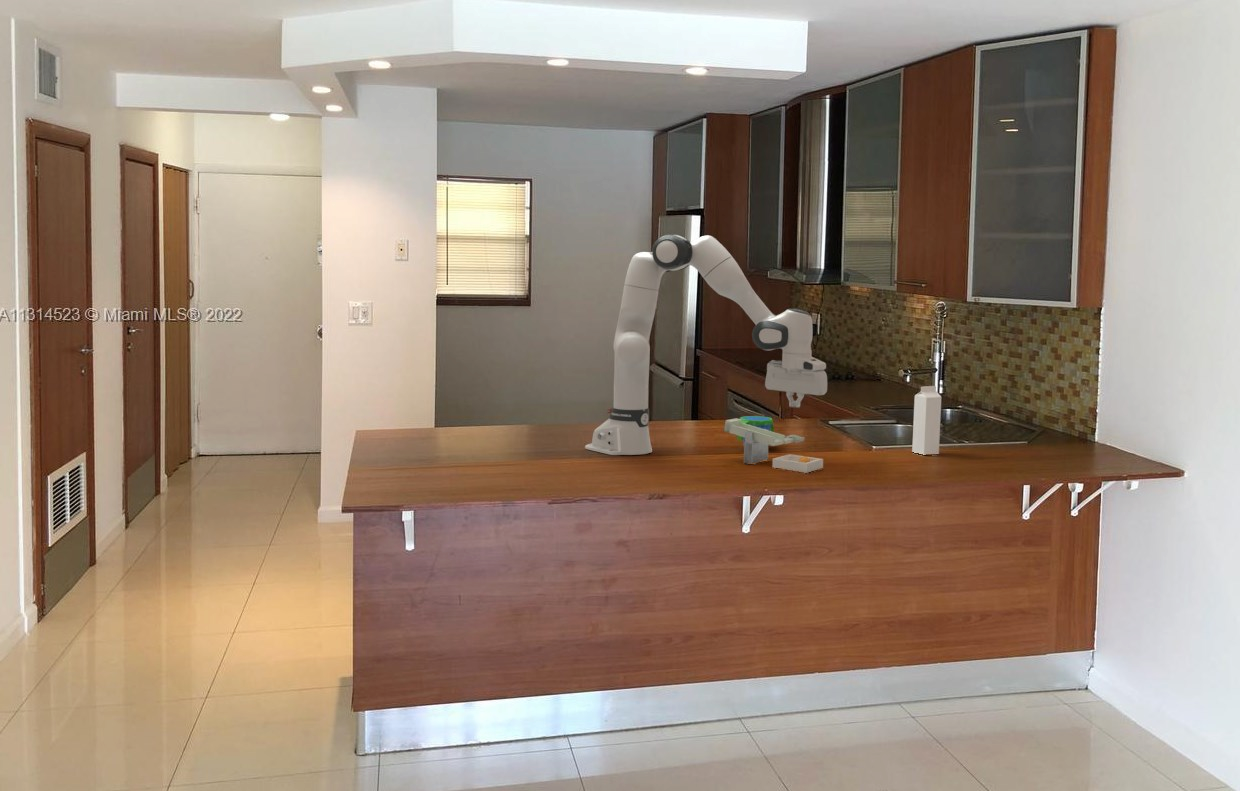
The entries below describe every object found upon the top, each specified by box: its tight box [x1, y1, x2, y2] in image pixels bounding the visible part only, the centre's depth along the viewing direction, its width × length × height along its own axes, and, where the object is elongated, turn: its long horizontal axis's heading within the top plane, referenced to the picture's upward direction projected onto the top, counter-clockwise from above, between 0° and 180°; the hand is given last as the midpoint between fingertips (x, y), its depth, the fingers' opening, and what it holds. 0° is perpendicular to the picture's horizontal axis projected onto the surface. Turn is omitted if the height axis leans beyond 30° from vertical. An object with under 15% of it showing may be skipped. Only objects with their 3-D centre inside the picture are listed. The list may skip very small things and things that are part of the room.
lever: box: [723, 418, 805, 447], centre depth 340 cm, size 20×16×4 cm
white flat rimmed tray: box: [772, 453, 824, 474], centre depth 328 cm, size 12×10×3 cm
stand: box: [743, 429, 769, 464], centre depth 337 cm, size 3×9×10 cm, turn 140°
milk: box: [911, 385, 942, 455], centre depth 352 cm, size 6×6×22 cm
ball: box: [798, 455, 810, 463], centre depth 326 cm, size 4×4×4 cm
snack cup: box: [736, 415, 775, 445], centre depth 360 cm, size 16×10×10 cm
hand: (794, 406), depth 338 cm, fingers closed
